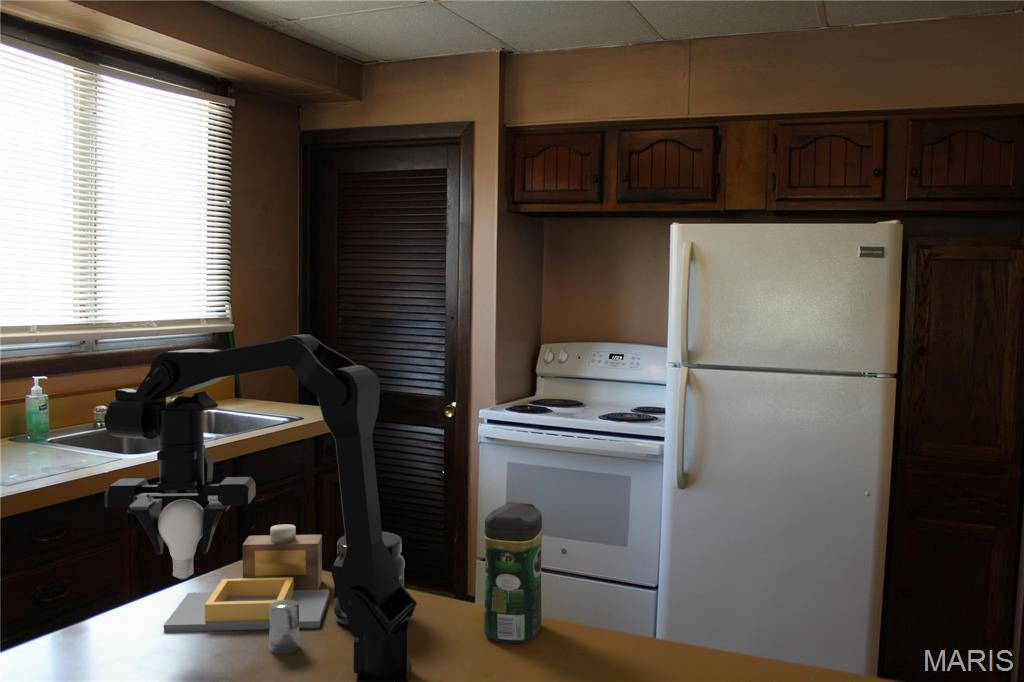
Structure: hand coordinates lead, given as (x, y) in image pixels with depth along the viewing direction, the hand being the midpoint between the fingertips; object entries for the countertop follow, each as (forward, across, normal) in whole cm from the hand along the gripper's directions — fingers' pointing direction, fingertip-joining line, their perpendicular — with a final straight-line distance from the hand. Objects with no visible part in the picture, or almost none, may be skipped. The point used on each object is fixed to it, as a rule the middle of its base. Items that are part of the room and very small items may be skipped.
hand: (183, 553), depth 118 cm
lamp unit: (+13, -10, -22) cm, 27 cm away
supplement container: (+13, -25, -8) cm, 29 cm away
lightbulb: (+4, 0, 0) cm, 4 cm away
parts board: (+13, -7, -11) cm, 18 cm away
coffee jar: (+13, -46, -1) cm, 48 cm away
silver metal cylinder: (+13, -14, +2) cm, 19 cm away
